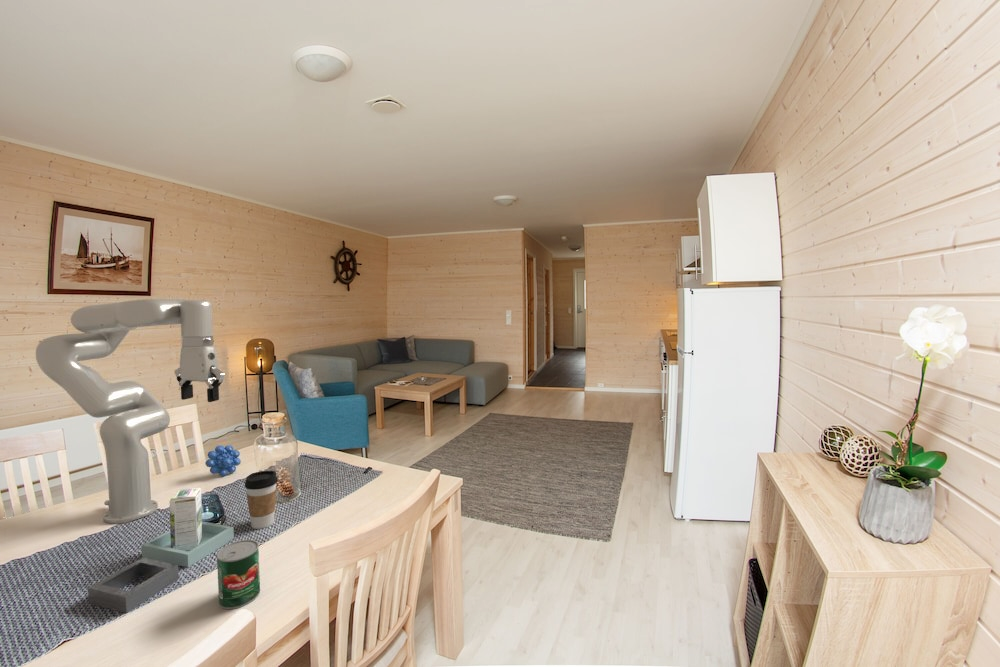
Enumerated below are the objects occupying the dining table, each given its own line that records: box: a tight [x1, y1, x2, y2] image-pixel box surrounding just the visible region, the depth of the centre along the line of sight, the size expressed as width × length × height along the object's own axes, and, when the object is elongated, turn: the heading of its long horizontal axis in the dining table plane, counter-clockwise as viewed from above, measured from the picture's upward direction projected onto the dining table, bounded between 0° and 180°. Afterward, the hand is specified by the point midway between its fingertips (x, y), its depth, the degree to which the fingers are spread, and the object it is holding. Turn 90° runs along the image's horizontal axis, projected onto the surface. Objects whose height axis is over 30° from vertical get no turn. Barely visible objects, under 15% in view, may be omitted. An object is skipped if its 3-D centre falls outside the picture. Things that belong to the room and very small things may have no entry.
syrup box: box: [169, 487, 203, 551], centre depth 110 cm, size 6×6×14 cm
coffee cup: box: [244, 470, 278, 530], centre depth 122 cm, size 8×8×15 cm
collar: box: [87, 557, 179, 614], centre depth 94 cm, size 11×11×4 cm
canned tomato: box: [216, 539, 261, 610], centre depth 92 cm, size 8×8×11 cm
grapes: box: [205, 444, 242, 477], centre depth 154 cm, size 12×7×12 cm, turn 146°
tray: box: [141, 520, 235, 568], centre depth 111 cm, size 15×13×3 cm
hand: (200, 399), depth 123 cm, fingers open, 9 cm apart
